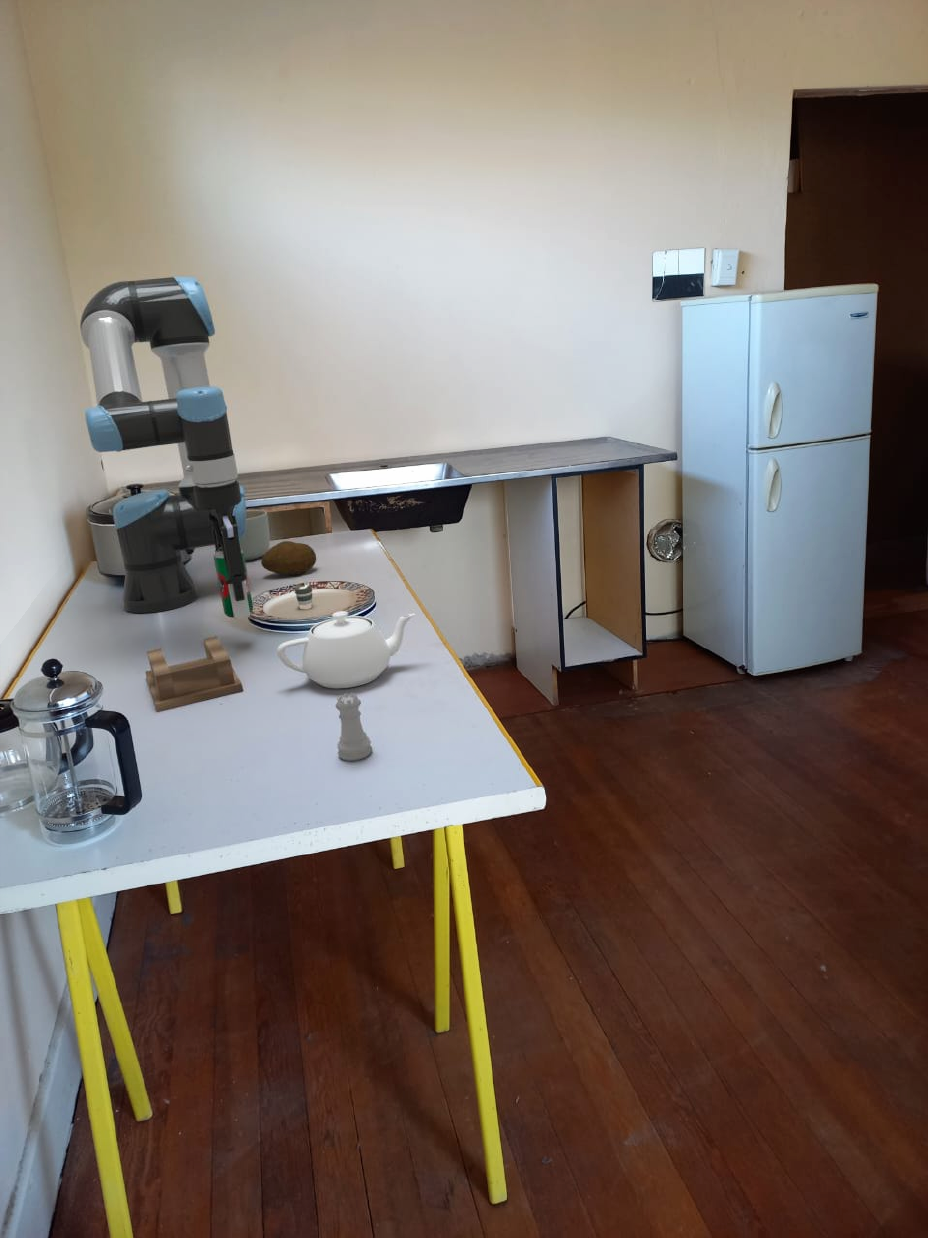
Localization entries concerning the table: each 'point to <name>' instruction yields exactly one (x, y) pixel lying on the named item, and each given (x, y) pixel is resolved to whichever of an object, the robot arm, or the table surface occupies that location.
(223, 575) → the soda can
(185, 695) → the cradle
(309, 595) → the coffee cup
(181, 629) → the table surface
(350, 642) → the teapot
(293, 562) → the potato
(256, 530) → the planter
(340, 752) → the rook chess piece
